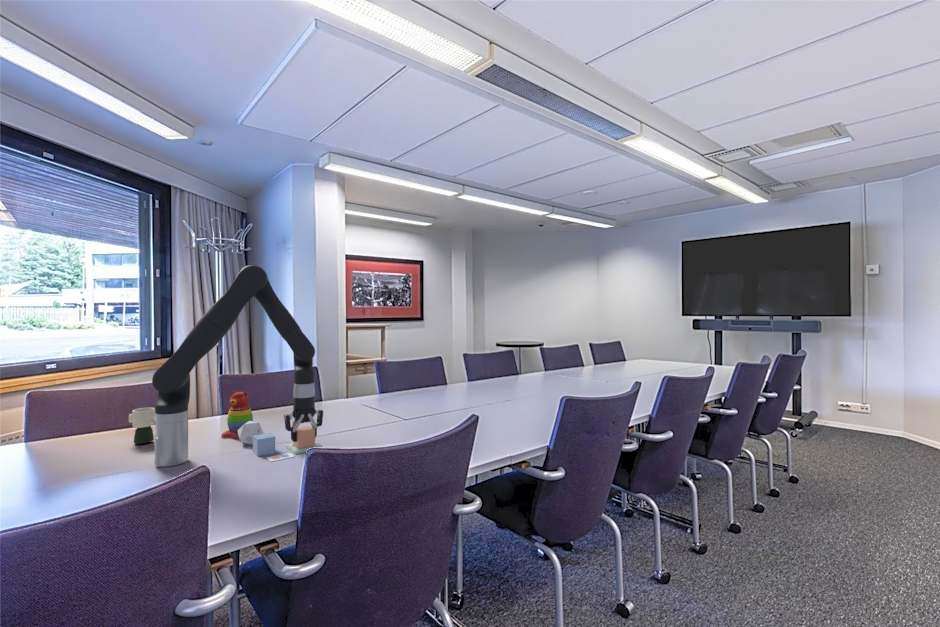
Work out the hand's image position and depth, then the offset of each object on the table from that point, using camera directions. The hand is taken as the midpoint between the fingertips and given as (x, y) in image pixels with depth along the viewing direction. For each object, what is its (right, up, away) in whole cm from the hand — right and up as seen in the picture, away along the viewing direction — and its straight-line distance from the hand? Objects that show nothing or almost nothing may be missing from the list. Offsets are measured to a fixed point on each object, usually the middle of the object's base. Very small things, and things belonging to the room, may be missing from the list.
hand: (304, 439), depth 166 cm
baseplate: (0, -3, 0) cm, 3 cm away
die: (-23, -3, +6) cm, 24 cm away
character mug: (-63, -3, +5) cm, 64 cm away
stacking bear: (-32, -3, +16) cm, 36 cm away
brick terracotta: (0, -2, 0) cm, 2 cm away
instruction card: (-4, -3, -11) cm, 12 cm away
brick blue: (-13, -3, -5) cm, 14 cm away
